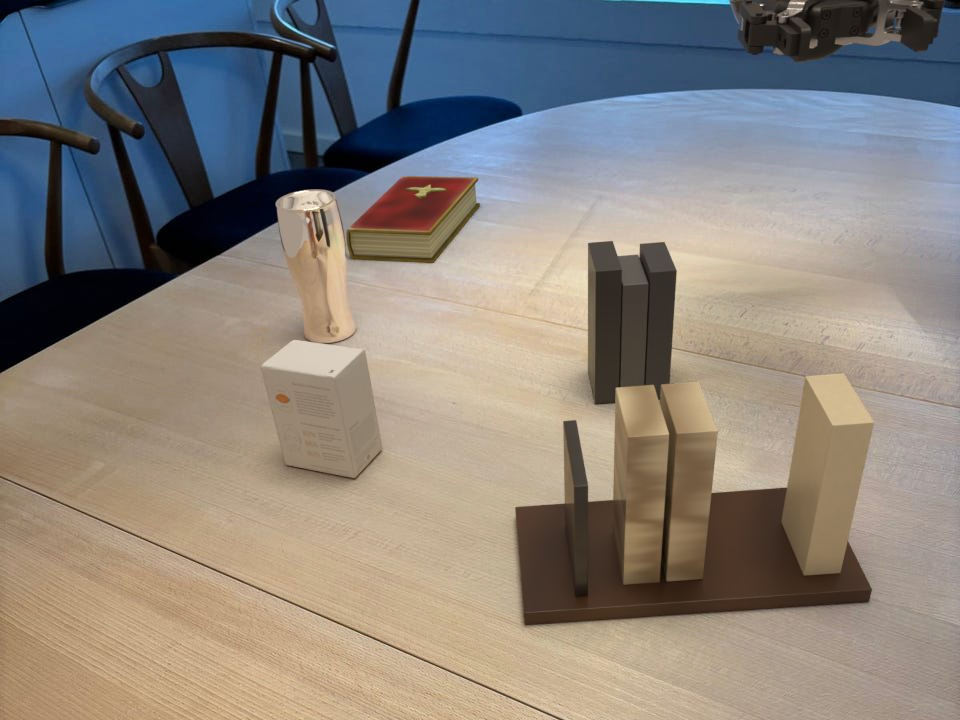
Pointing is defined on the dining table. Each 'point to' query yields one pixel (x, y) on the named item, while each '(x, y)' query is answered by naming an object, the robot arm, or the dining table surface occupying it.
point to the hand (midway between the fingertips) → (865, 40)
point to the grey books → (629, 318)
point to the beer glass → (317, 262)
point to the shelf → (726, 566)
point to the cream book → (825, 472)
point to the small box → (323, 407)
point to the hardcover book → (413, 219)
